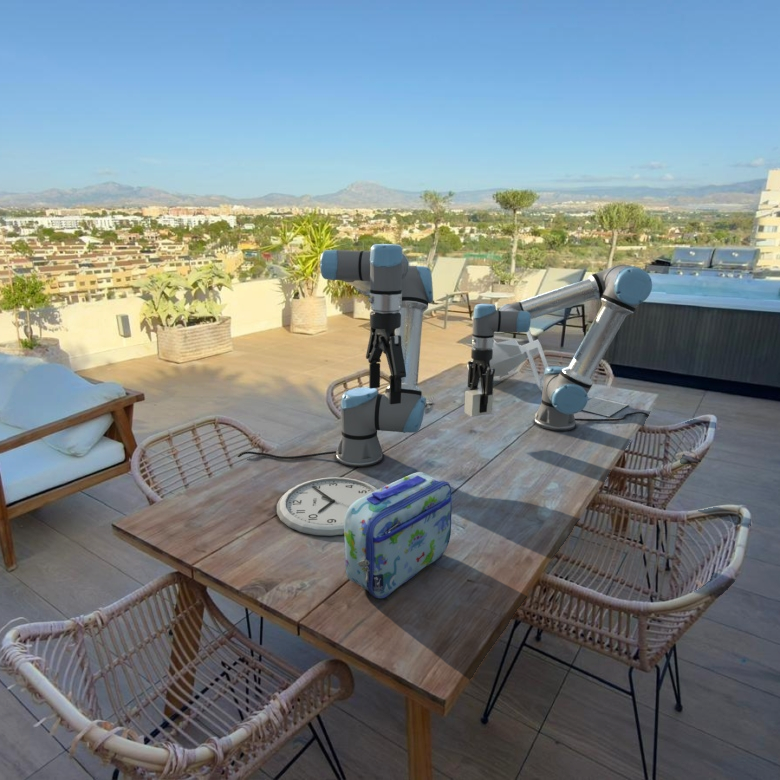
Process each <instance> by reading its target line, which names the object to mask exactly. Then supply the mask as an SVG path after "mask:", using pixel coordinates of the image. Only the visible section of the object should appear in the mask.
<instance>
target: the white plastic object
mask: <svg viewBox="0 0 780 780" xmlns="http://www.w3.org/2000/svg"><path fill="white" fill-rule="evenodd" d="M526 336H527V337H526V338H527V339H528V342H527V343H525V344H519V342H518V341H517V339H516V338H512V339H508V340H503V341H498V342H497V341H496V340H495V339H494V343H493V348H492V350H493V356H492V359H491V360H490V367H491V368H492V369H495V373H494V377H499V378H503V377H505V376H509V373H510V372H511V371H512V370H514V369H515V368H517V367H519V366H520V365H521V364H523V363H524V362H525V361H527V359H528V361H529V365H530V368H531V371H532V374H533V378H534V381H535V384H536V386H537V388H538V389H539V391H541V393H542V392H543V384H542V381H541V379H540V375H539V372H538V369H537V366H536V364H535V363H536V362H535V360H534V357H533V356H535V355H538V354H539V357H540V359H541V363H542V364H543V368H544V370H545V369H546V368H547V367H550V366H549V363H548V361H547V358H546V355H545V352H544V349H543V346H542V344H541V342H540V339H535V340H534V339H533V335H532V333H531V329H529V331H528V332H526ZM467 369H468V370H469V367H468V364H467ZM482 375H484V374H482Z"/></svg>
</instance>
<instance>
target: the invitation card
mask: <svg viewBox="0 0 780 780" xmlns="http://www.w3.org/2000/svg"><path fill="white" fill-rule="evenodd" d="M628 406H629V404H627V403H623V402H618V401H614V400H609V399H605V398H601V397H596V396H593V397H592V398H590V399H588V401H587V404H586V406H585V407H584V409H582V410H581V411H584V412H587V413H593V414H596V415H600V416H604V417H608V418H609V417H611V416H613V415H614V414H616V413H617V412H619V411H621V410H623V409H624V408H626V407H628Z"/></svg>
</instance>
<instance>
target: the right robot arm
mask: <svg viewBox="0 0 780 780" xmlns="http://www.w3.org/2000/svg"><path fill="white" fill-rule="evenodd" d="M652 290H653V281H652V277H651V276H650V274H649V273H648V272H647V271H646V270H644V269H642V268H641V267H638V266H633V265H628V264H618V265H617V264H616V265H614V266H611V267H609V268H606V269H603V270H601V271H597V272H596V273H592V274H590V275H589V277H588V278H587V279H583V280H581V281H578V282H574V283H572V284H568V285H566V286H562V287H560V288H557V289H556V288H555V289H553V290H551V291H550V290H549V291H547V292H544V293H542V294H538V295H536V296H533V297H529V298H526V299H523V300H520V301H518V302H515V303H506V304H504V305H502V306H500V308H499V309H497V306H496V304H493V303H478V304H475V305H474V307H473V315H472V333H471V334H472V337H471V338H472V339H471V347H472V348H471V352H470V358H471V359H472V360H470V361H469V360H468V362H467V365H468V367H469V370H468V371H467V372H468V373H467V388H469V391H470V390H477V389H482V394H481V395H480V410H479V412H480V413H483V412H487V404H488V396H489V395H492V394H493V395H494V373H495V369H492V368H491V367H490V360H491V359H492V356H493V350H492V348H493V343H494V340H495V333H511V334H513V333H516V334H521V333H522V334H524V333H526V332H528V331H529V329H530V328H531V320H533V319H536V318H539V317H543V316H546V315H549V314H552V313H555V312H557V311H558V312H559V311H562V310H564V309H568V308H571V307H573V306H577V305H580V304H583V303H586V302H589V301H593V300H595V301H597V302H599V301H601V307H600V308H599V310H598V311H597V314H596V316H595V317H594V319H593V321H592V323H591V325H590V327H589V328H588V330H587V332H586V333H585V335H584V337H583V339H582V341H581V343H580V344H579V347H578V348H577V350H576V351H575V354H574V355H573V357H572V359H571V361H570V363H569V364H568V366H558V365H557V366H554V365H553V366H549V367H547V368H546V369H545V368H544V373H543V381H542V382H543V384H542V387H543V392H542V391H541V393H542V394H541V402H540V405H539V407H538V410H537V411H535V414H534V424H535V425H536V426H537V427H539V428H542V429H544V430H549V431H556V432H567V431H572V430H574V429H575V428H576V421H577V422H618V421H623V420H625V419H626V418H627V417H628V416H633V415H644V416H646V417H650V414H648V413H647V412H644V411H633V412H628V413H625V414H624V416H622V417H619V418H575V417H576V416H575V414H578V413H580V412H581V411H583V410H582V409H584V407H585V406H586V404H587V401H588V400H589V399H588V398H589V396H588V393H589V391H590V390H591V389H592V386H593V380H592V378H593V375H594V374H595V372H596V370H597V368H598V367H599V365H600V364H601V361H602V359H603V358H604V356H605V354H606V353H607V351H608V349H609V348H610V346H611V344H612V342H613V340H614V338H615V337H616V335H617V333H618V331H619V330H620V328H621V326H622V324H623V323H624V321H625V320H626V318H627V316H628V315H631V314H634V313H635V311H636V309H637V308H638V306H639V304H641V303H644V302H645V301H646V300H648V298H649V297H650V295H651V293H652ZM530 330H531V329H530ZM468 367H467V368H468ZM482 374H484V375H482ZM479 384H480V387H481V388H479Z"/></svg>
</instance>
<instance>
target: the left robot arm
mask: <svg viewBox="0 0 780 780" xmlns="http://www.w3.org/2000/svg"><path fill="white" fill-rule="evenodd" d="M319 271H320V274H321V277H322V278H323V279H324V280H329V281H341V282H343V283H346V284H348V285H350V286H352V287H354V288H355V290H356V291H357V292H358V293H359V294H361V295H363V296H366V297H368V298H367V299H368V302H369V306H370V307H369V309H370V310H371V311H370V313H369V326H370V333H369V338H368V344H367V348H366V354H365V359H366V360H368V364H369V365H368V366H369V368H368V369H369V370H368V372H369V373H368V374H369V376H368V377H369V378H368V380H369V381H368V384H369V385H368V386H361V387H360V386H359V387H355V388H350V389H349V390H346V391H345V392H344V393H343V394H342V395H341V399H340V400H341V401H340V402H341V403H340V417H341V418H340V422H341V423H340V425H341V426H340V427H341V428H340V429H341V435H340V440H339V442H338V445H337V448H336V450H332V451H325V452H317V453H310V454H301V455H291V456H285V455H284V456H283V455H282V456H281V455H277V454H276V455H275V454H271V453H267V452H259V451H258V452H257V451H243V452H241V453H239V454H238V455H237V458H241V457H243V456H244V455H248V454H249V455H256V456H267V457H271V458H275V459H280V460H281V459H282V460H292V459H302V458H303V459H304V458H310V457H318V456H326V455H333V454H335V458H336V461H337V462H338V463H339V464H341V465H344V466H347V467H353V468H365V467H371V466H374V465H377V464H379V463H380V462H381V461H382V460H383V448H384V444H383V443H380V440H379V437H378V431H381V432H394V433H403V434H405V433H411V434H412V433H417V432H418V431H420V429H421V426H422V424H423V419H424V417H425V410H426V408H425V405H426V404H427V403H426V402H427V399H426V397H425V396H424V395H422V394H423V391H422V389H421V387H419V386H418V385H419V370H420V357H421V344H422V343H421V342H422V330H423V319H424V318H423V317H424V313H426V312H427V311H428V309H429V304H432V303H433V302H434V288H433V276H432V270H431V269H430V267H428V266H424V265H418V264H416V265H410V263H409V260H408V257H407V256H406V255H405V254H404V253H403V247H402V245H400V244H395V243H394V244H393V243H392V244H389V243H380V244H379V243H378V244H376V243H375V244H373V245H372V246H371V247H370V250H345V249H327V250H326V249H325V250H323V252H321V255H320V260H319ZM382 354H384V355H385V358H386V360H387V365H388V369H389V372H390V375H389V376H388V379H389V384H388V386H387V387H385V390H384V392H385V393H379V390H378V389H379V388H381V362H382V360H381V357H382Z"/></svg>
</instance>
